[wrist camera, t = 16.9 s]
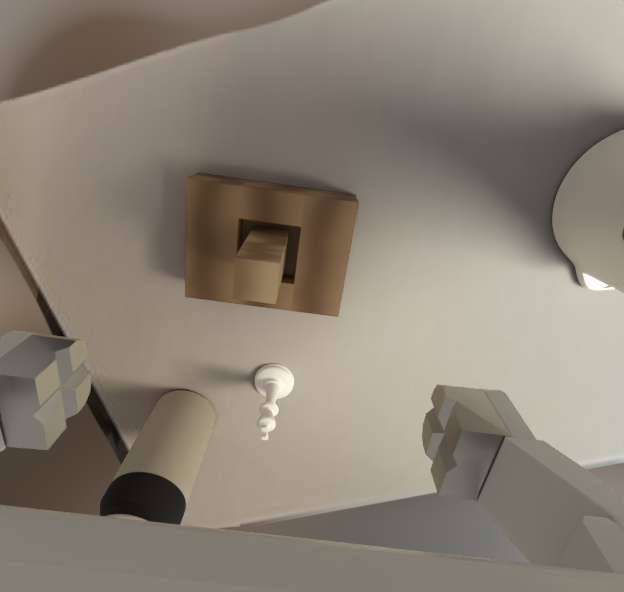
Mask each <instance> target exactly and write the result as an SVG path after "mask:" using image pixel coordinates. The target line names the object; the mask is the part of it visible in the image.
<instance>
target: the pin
mask: <svg viewBox="0 0 624 592" xmlns="http://www.w3.org/2000/svg"><path fill="white" fill-rule="evenodd" d="M288 236H289V231H287V230H280V229H272V228H265V227H258V226H254V227H253V229H252V230H251V232H250V233H249V235H248V237H247V238H246V240H245V242H244V243H243V245H242V247H241V248H240V250H239V251H238V253H237V255H236V256H235V261H234V278H233V296H232V299H240V300H247V301H255V302H263V303H270V304H276V300H277V296H278V292H279V288H280V284H281V280H282V275H283V271H284V267H285V263H286V254H287V245H288Z"/></svg>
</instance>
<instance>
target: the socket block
mask: <svg viewBox="0 0 624 592" xmlns="http://www.w3.org/2000/svg"><path fill="white" fill-rule="evenodd" d="M357 209H358V200H357V198H356V195H352V194H345V193H338V192H331V191H323V190H316V189H309V188H302V187H295V186H288V185H281V184H274V183H267V182H259V181H252V180H245V179H238V178H231V177H224V176H217V175H210V174H203V173H197V174H195V175H193V176H191V177H188V178H186V268H185V297H190V298H198V299H205V300H213V301H221V302H228V303H236V304H244V305H251V306H259V307H267V308H274V309H282V310H290V311H297V312H305V313H313V314H320V315H328V316H336V317H338V314H339V308H340V303H341V297H342V292H343V286H344V281H345V275H346V269H347V264H348V258H349V253H350V247H351V242H352V236H353V231H354V225H355V220H356V214H357ZM254 226H258V227H265V228H272V229H280V230H287V231H289V236H288V245H287V254H286V263H285V267H284V271H283V275H282V280H281V284H280V288H279V292H278V296H277V300H276V304H270V303H263V302H255V301H247V300H240V299H232V296H233V278H234V261H235V256H236V255H237V253H238V251H239V250H240V248H241V247H242V245H243V243H244V242H245V240H246V238H247V237H248V235H249V233H250V232H251V230H252V229H253V227H254Z"/></svg>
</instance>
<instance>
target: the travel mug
mask: <svg viewBox="0 0 624 592" xmlns="http://www.w3.org/2000/svg"><path fill="white" fill-rule="evenodd" d="M215 422H216V414H215V411H214V408H213V407H212V405H211V404H210V403H209V402H208V401H207V400H206V399H205V398H204V397H202V396H200V395H199V394H196V393H194V392H190V391H184V390H178V391H172V392H169V393H167V394H165V395H163V396H162V397H161V398H160V399H159V400H158V402H157V403H156V405H155V407H154V409H153V410H152V412H151V414H150V416H149V417H148V419H147V421H146V423H145V424H144V426H143V428H142V430H141V431H140V433H139V435H138V437H137V438H136V440H135V442H134V444H133V446H132V447H131V449H130V451H129V453H128V454H127V456H126V458H125V460H124V461H123V463H122V465H121V467H120V468H119V470H118V472H117V474H116V475H115V477H114V479H113V481H112V482H111V484H110V486H109V488H108V489H107V491H106V493H105V495H104V496H103V498H102V500H101V504H100V516H105V517H114V518H123V519H132V520H141V521H150V522H159V523H168V524H178V525H180V523H181V521H182V518H183V515H184V512H185V509H186V506H187V503H188V500H189V497H190V495H191V492H192V489H193V486H194V483H195V480H196V477H197V474H198V471H199V468H200V466H201V463H202V460H203V457H204V454H205V451H206V448H207V445H208V442H209V439H210V437H211V434H212V431H213V428H214V425H215Z"/></svg>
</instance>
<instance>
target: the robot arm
mask: <svg viewBox="0 0 624 592" xmlns="http://www.w3.org/2000/svg"><path fill="white" fill-rule="evenodd" d="M552 226H553V232H554V236H555V239H556V241H557V243H558V245H559V247H560V248H561V250H562V251H563V253H564V254H565V255H566V256H567V257H568V258H569V259H570V260H571V261H572V262H573V264H574V266H575V269H576V273H577V277H578V281H579V283H580V285H581V286H582V287H584V288H586V289H589V290H592V291H600V290H619V291H621V292H623V293H624V129H623V130H621V131H619V132H616V133H614V134H612V135H610V136H608V137H606V138H605V139H603V140H601V141H600V142H598V143H597V144H595V145H594V146H593V147H592V148H590V149H589V150H588V151H587V152H586V153H584V154H583V155H582V156H581V157H580V158H579V160H578V161H577V162H576V163H575V164H574V165H573V166H572V168H571V169H570V170H569V172H568V173H567V175H566V176H565V178H564V180H563V182H562V184H561V186H560V188H559V190H558V192H557V195H556V198H555V202H554V206H553V213H552ZM88 357H89V356H88V349H87V344H86V343H85V342H84V341H83V340H81V339H74V338H67V337H60V336H53V335H46V334H40V333H39V334H37V333H32V332H23V331H9V332H8V333H6V334H5V335H3V336H2V337H0V451H2V450H4V449H5V446H7V447H18V448H29V449H41V450H48V449H49V448H50V447H51V446H52V444H53V443H54V442H55V441H56V440H57V438H58V437H59V436H60V435H61V433H62V432H63V431H64V430H65V429H66V420H65V419H67V418H69V417H71V416H73V415H75V414H77V413H78V412H79V411H80V410H81V409H82V407H83V406H84V405H85V403H86V401H87V398H88V396H89V393H90V389H91V373H90V372H89V370H88V369H87V368H86V367H85V366H84V365H83V363H84V361H85V360H86V359H87V358H88ZM431 400H432V403H433V405H434V408H433V409H432V410H430V411H429V412H428V413H426V416H425V420H424V423H423V433H422V439H423V446H424V450H425V453H426V455H427V456H428V457H429V458H430V459H431V460H432V461H433V464H432V467H431V473H432V476H433V479H434V483H435V486H436V489H437V492H438V495H441V496H448V497H455V498H462V499H468V500H475V501H477V503H478V504H479V505H480V507H481V508H482V509H483V510H484V511H485V512H486V513H487V514H488V516H489V517H490V518H491V519H492V520H493V521H494V522H495V524H496V525H497V526H498V527H499V528H500V529H501V530H502V531H503V533H504V534H505V535H506V536H507V537H508V538H509V539H510V540H511V541H512V543H513V544H514V545H515V546H516V547H517V548H518V549H519V551H520V552H521V553H522V554H523V555H524V556H525V557H526V558H527V560H528V561H529V562H530V563H521V562H513V561H504V560H494V559H485V558H476V557H466V556H457V555H448V554H438V553H429V552H419V551H412V550H403V549H393V548H385V547H376V546H366V545H357V544H349V543H340V542H331V541H322V540H313V539H305V538H295V537H286V536H277V535H269V534H260V533H251V532H241V531H232V530H223V529H214V528H205V527H196V526H187V525H178V524H168V523H159V522H150V521H141V520H132V519H123V518H114V517H105V516H95V515H86V514H77V513H68V512H59V511H50V510H40V509H32V508H22V507H14V506H4V505H0V592H624V495H622V494H621V493H619V492H618V491H616V490H615V489H614V488H612V487H611V486H609V485H608V484H606V483H605V482H603V481H602V480H600V479H599V478H597V477H596V476H594V475H593V474H591V473H590V472H589V471H587V470H586V469H584V468H583V467H581V466H580V465H578V464H577V463H575V462H574V461H572V460H571V459H569V458H568V457H566V456H565V455H564V454H562V453H561V452H559V451H558V450H556V449H555V448H553V447H552V446H550V445H549V444H547V443H546V442H544V441H540V440H536V438H535V437H534V435H533V434H532V432H531V431H530V429H529V428H528V426H527V425H526V423H525V422H524V420H523V419H522V417H521V416H520V414H519V413H518V411H517V410H516V408H515V407H514V405H513V404H512V402H511V401H510V399H509V398H508V396H507V395H506V394H505V393H504V392H502V391H500V390H489V389H474V388H465V387H456V386H447V385H437V386H436V387H435V389H434V391H433V394H432V397H431Z"/></svg>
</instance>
